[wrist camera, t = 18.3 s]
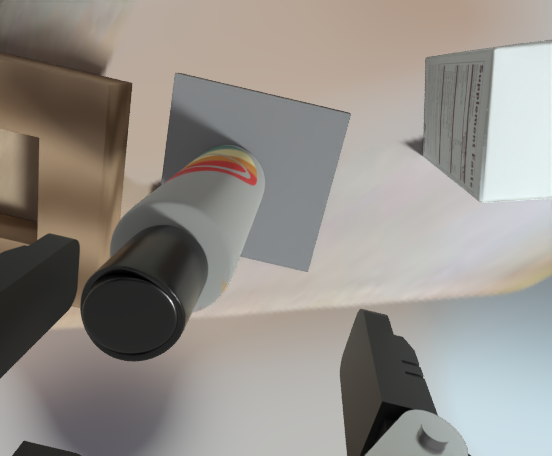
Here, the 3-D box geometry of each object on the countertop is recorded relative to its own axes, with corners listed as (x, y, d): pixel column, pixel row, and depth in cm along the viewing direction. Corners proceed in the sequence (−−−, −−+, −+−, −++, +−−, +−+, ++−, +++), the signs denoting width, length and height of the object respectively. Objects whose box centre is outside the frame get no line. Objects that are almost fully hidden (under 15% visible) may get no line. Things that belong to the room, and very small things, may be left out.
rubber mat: (179, 73, 32) (175, 73, 31) (349, 112, 32) (350, 114, 31) (159, 231, 36) (154, 236, 35) (307, 265, 36) (307, 272, 35)
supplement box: (532, 45, 29) (680, 27, 18) (519, 152, 32) (642, 200, 20) (422, 54, 30) (493, 43, 18) (418, 158, 33) (479, 207, 21)
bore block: (-100, 28, 32) (-154, 23, 29) (132, 83, 32) (108, 84, 29) (-81, 242, 39) (-123, 260, 35) (113, 287, 39) (92, 310, 35)
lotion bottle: (209, 130, 32) (67, 215, 13) (278, 163, 32) (234, 290, 14) (183, 196, 34) (26, 351, 15) (248, 226, 34) (173, 412, 16)
